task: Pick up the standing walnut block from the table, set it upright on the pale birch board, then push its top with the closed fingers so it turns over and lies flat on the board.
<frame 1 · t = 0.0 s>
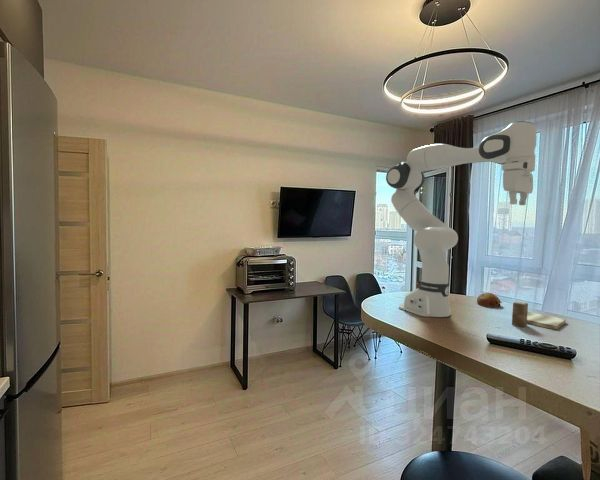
hand: (517, 204, 119), 48 cm above the table, fingers open, 8 cm apart
board: (540, 321, 135), on the table
bread roll: (489, 305, 161), on the table
walnut block: (519, 325, 130), on the table
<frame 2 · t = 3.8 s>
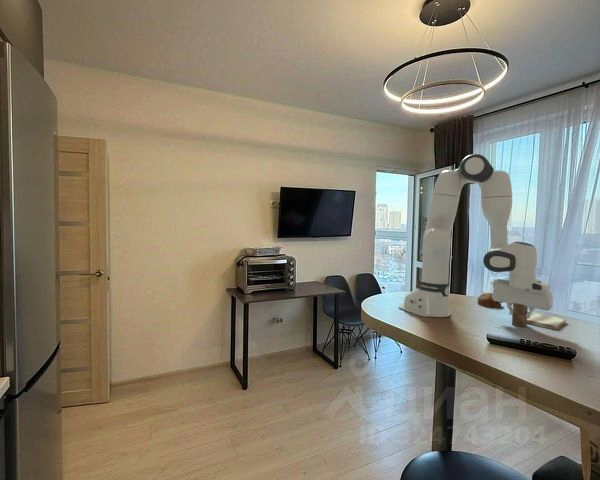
hand: (519, 316, 130), 4 cm above the table, fingers closed on walnut block, 4 cm apart
walnut block: (519, 325, 130), on the table, touching gripper
everything else where it was.
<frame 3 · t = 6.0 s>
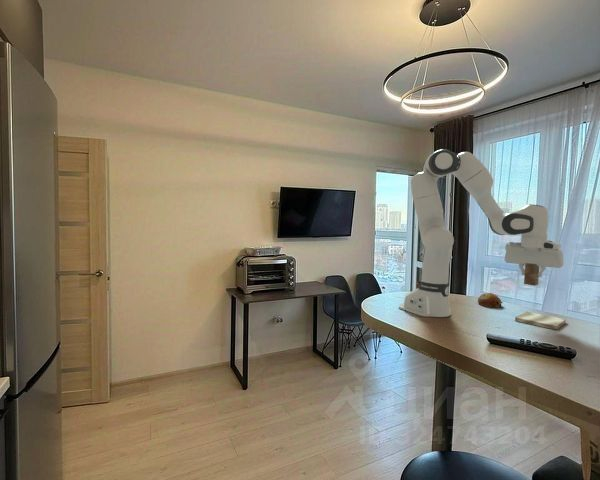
hand: (531, 275, 137), 19 cm above the table, fingers closed on walnut block, 4 cm apart
walnut block: (531, 284, 137), point 15 cm above the table, touching gripper
everything else where it was.
when the fingers open (6 cm above the table, at t = 8.6 s): walnut block stays where it is, resting on board.
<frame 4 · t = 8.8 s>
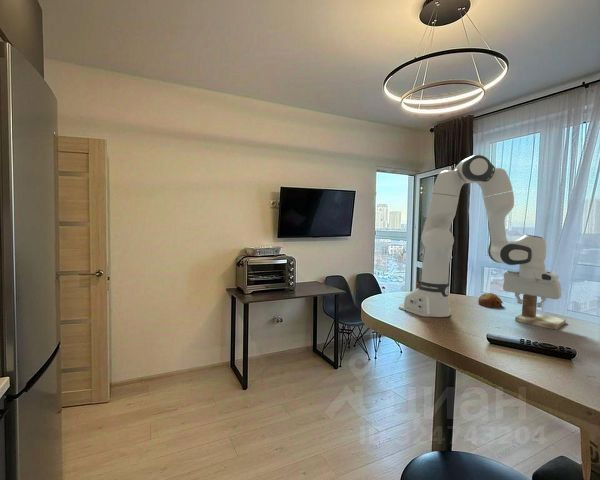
hand: (529, 305, 138), 6 cm above the table, fingers open, 6 cm apart
walnut block: (528, 315, 138), point 1 cm above the table, touching board
everything else where it was.
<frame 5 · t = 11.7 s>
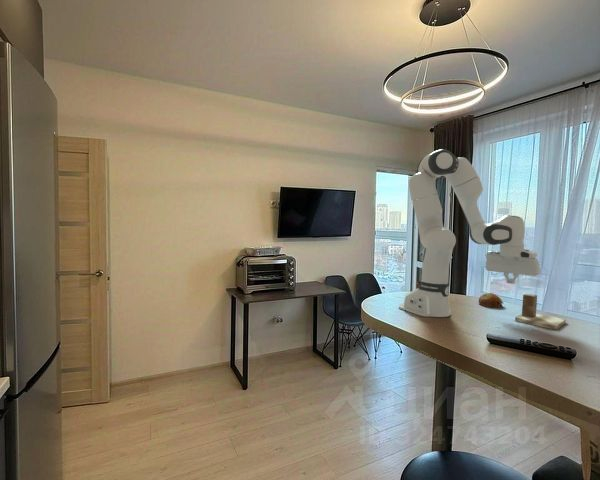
hand: (510, 283, 143), 14 cm above the table, fingers closed
nothing on the table moved.
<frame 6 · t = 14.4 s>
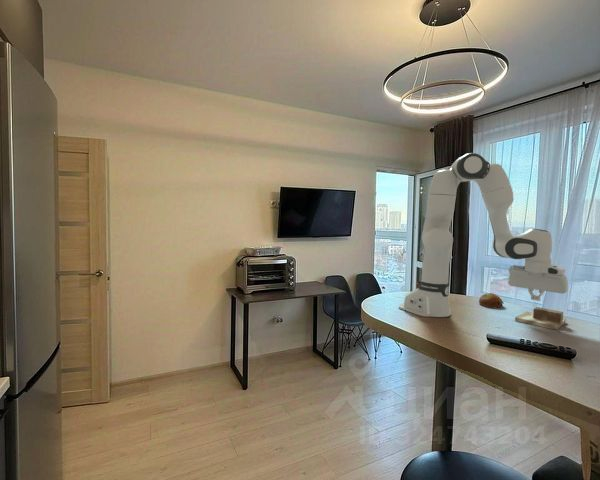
hand: (535, 300, 136), 9 cm above the table, fingers closed
walnut block: (534, 312, 136), point 3 cm above the table, tilted 90°, touching board
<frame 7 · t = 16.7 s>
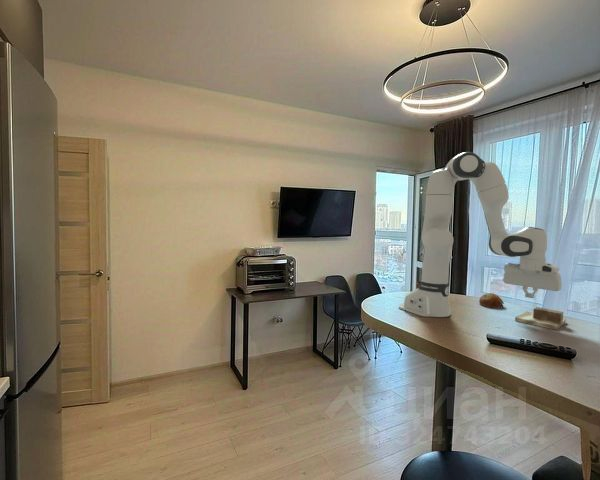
hand: (529, 297, 137), 9 cm above the table, fingers closed
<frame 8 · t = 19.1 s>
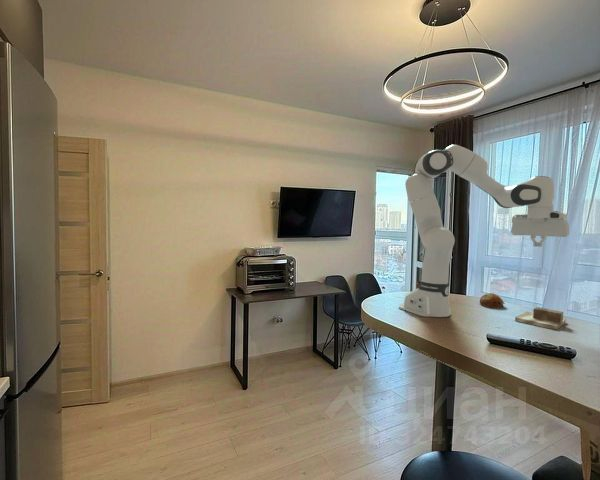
hand: (537, 246, 140), 31 cm above the table, fingers closed
at the end: walnut block tilted 90°; walnut block inside the target area on the board (2.5 cm from its centre), point 3.5 cm above the board's base; the gripper is holding nothing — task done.
